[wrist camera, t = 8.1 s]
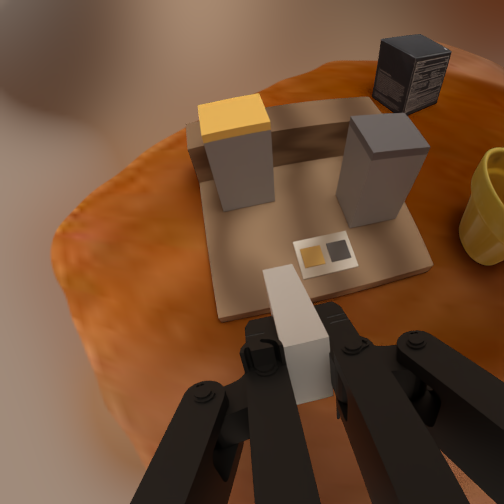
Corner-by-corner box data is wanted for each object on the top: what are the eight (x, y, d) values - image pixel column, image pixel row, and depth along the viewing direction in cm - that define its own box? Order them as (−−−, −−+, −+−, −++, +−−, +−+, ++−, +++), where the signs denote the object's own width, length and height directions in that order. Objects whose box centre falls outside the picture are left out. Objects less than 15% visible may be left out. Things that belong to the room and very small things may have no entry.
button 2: (265, 171, 31) (258, 93, 22) (275, 201, 29) (270, 121, 20) (218, 181, 31) (197, 105, 22) (223, 211, 29) (201, 135, 20)
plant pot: (471, 297, 24) (529, 253, 15) (428, 212, 29) (464, 150, 20) (523, 266, 25) (571, 223, 16) (483, 195, 29) (518, 142, 21)
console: (358, 135, 35) (366, 94, 29) (427, 271, 26) (457, 238, 20) (199, 162, 35) (185, 121, 29) (221, 322, 26) (203, 299, 20)
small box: (408, 82, 41) (419, 32, 31) (437, 103, 38) (454, 51, 28) (369, 95, 39) (378, 36, 29) (401, 119, 36) (418, 58, 27)
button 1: (379, 186, 29) (404, 112, 20) (395, 218, 27) (430, 146, 18) (335, 194, 29) (350, 116, 20) (349, 228, 27) (373, 152, 18)
